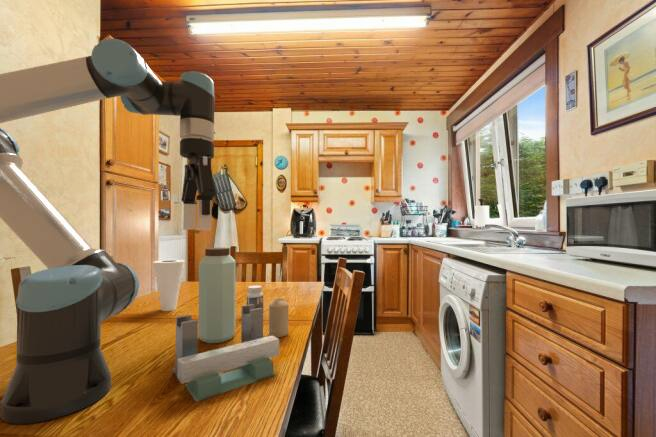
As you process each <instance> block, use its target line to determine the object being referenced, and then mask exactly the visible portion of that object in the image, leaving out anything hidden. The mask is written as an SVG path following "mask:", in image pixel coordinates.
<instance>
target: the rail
mask: <svg viewBox="0 0 656 437" xmlns="http://www.w3.org/2000/svg"><path fill="white" fill-rule="evenodd" d="M277 356H280V339H279V337H275V336H273V335H272V336H270V335H268V336H263V338H260V339H256V340H252V341H248V342H243V343H241V342H240V343H237V344H236V343H235V344H232V345H228V346H225V347H219V348H216V349H211V350H207V351H203V352H200V353H198V354H195V355H191V356H187V357H183V358H179V359H177V377H176V379H177V378H178V379H177V380H178V381H179V383H180V385H183V384H187V383H188V382H190V381H193V380H196V379H200V378H203V377H207V376H210V375H213V374H217V373H218V374H221V373H225V372H228V371H231V370H235V369H238V368H239V367H240V368H241V366H244V365H247V364H251V363H254V362H257V361H261V360H264V359H268V358H269V359H270V358H274V357H277Z"/></svg>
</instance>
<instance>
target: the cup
mask: <svg viewBox="0 0 656 437" xmlns="http://www.w3.org/2000/svg"><path fill="white" fill-rule="evenodd" d="M185 261H186V260H185V259H161V260H154V261H153V262H152V264H153V270H154V275H155V281H156V285H157V292H158V294H159V295H158V296H159V302H160V309H161V311H162V312H171V311H175V310H177V305H178V299H179V292H180V288H181V283H182V277H183V272H184V269H185V268H184V266H185V263H186V262H185Z"/></svg>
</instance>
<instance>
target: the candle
mask: <svg viewBox="0 0 656 437" xmlns="http://www.w3.org/2000/svg"><path fill="white" fill-rule="evenodd" d="M268 309H269V310H268V317H269V318H268V334H269V335H268V336H272V335H273V336H275V337H276V338H283V337H286V336H288V334H289V303H288V302H287V301H286V300H285V298H274V299H273V300H272V301H271V302H270V303H269V305H268Z"/></svg>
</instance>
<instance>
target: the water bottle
mask: <svg viewBox="0 0 656 437" xmlns="http://www.w3.org/2000/svg"><path fill="white" fill-rule="evenodd" d="M204 252H205V253H204V254H205V256H203V258H201V260H200V261H199V262H198V338H199V340H200V341H201V342H204V343H207V344H219V343H224V342H227V341H230V340H232V338H233V337H234V334H235V332H236V272H237V271H236V270H237V268H236V267H237V266H236V265H237V264H236V261H237V260H236V259H234V257H233V256H231V253H230V252H231V248H230V247H207V248H205V251H204Z"/></svg>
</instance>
